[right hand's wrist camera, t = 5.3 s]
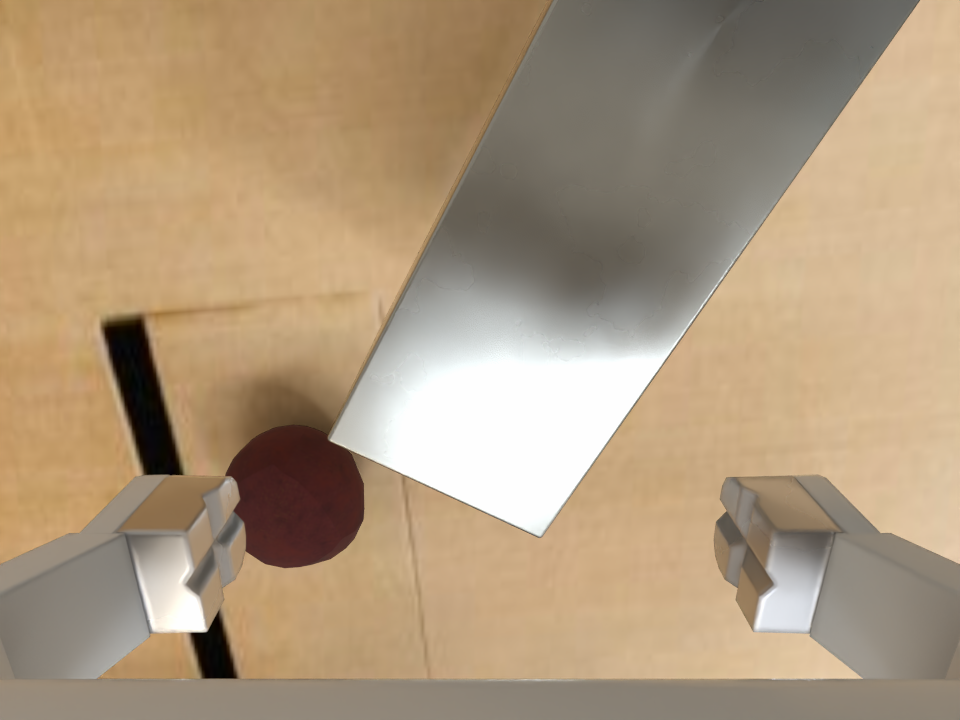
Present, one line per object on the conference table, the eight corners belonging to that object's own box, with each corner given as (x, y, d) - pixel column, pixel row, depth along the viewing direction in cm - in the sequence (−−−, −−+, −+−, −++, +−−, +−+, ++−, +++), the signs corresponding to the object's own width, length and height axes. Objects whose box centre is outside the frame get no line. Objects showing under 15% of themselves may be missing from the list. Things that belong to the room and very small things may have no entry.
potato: (320, 381, 34) (282, 443, 27) (401, 482, 36) (384, 561, 30) (219, 444, 35) (161, 517, 29) (303, 537, 38) (266, 624, 31)
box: (517, 383, 25) (541, 540, 16) (385, 316, 24) (325, 441, 14) (920, -267, 18) (1427, -716, 8) (754, -404, 17) (1118, -1101, 7)
